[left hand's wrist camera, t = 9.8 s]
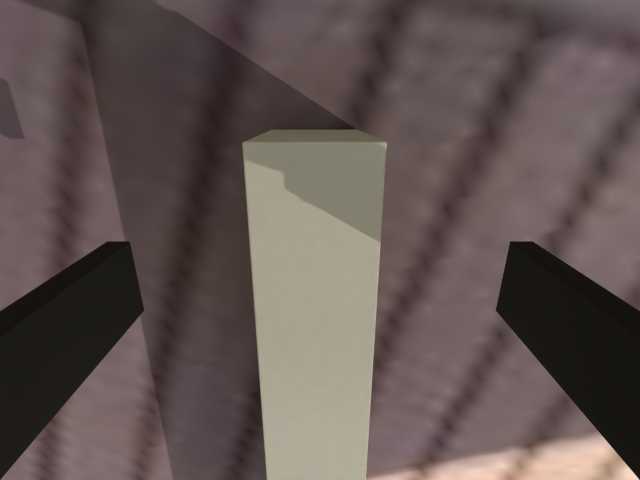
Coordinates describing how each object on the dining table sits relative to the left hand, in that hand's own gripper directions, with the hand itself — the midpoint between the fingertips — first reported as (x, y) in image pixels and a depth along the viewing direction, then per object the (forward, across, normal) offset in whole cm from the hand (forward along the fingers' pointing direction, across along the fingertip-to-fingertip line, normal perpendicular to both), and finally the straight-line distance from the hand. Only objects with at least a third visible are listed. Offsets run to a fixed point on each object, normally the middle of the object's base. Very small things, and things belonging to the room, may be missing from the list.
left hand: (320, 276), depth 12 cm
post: (+8, 0, -28) cm, 29 cm away
